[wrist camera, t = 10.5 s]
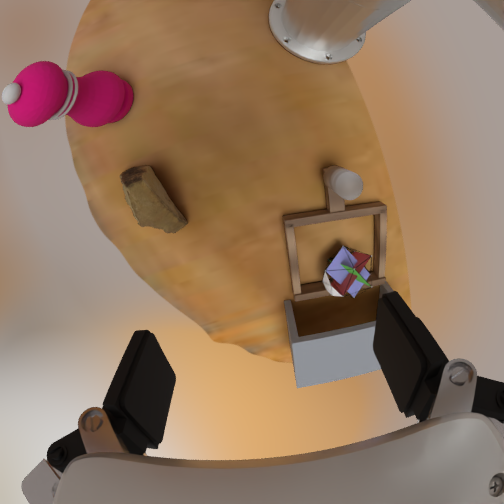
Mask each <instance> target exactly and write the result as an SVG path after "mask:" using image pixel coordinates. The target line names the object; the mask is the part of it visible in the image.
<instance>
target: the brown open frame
mask: <svg viewBox="0 0 504 504" xmlns="http://www.w3.org/2000/svg"><path fill="white" fill-rule="evenodd" d="M323 180H324V184H325V193H326V203H327V209H324V210H318V211H311V212H305V213H298V214H292V215H286V216H283V221H284V228H285V235H286V242H287V249H288V257H289V264H290V272H291V280H292V288H293V294H294V298H295V302H296V301H302V300H307V299H313V298H318V297H324V296H329V295H331V294H330V293H329V292H328V291H327V290H326V288H325V286H324V284H323V282H317V283H312V284H306V285H300V277H299V268H298V259H297V251H296V242H295V234H294V227H297V226H303V225H309V224H316V223H322V222H328V221H335V220H341V219H348V218H354V217H361V216H368V215H375V249H374V272H369V273H370V274H371V278H370V276H369V277H368V279H367V280H366V281H367V282H368V283H369V284H370V285H371V283H372V287H373V286H377V285H382V284H385V279H386V278H385V262H386V237H387V206H386V205H385V204H383V203H382V202H374V203H366V204H359V205H352V206H345V204H344V199H346V200H353V199H356V198H357V197H358V196H359V195H360V194H361V192H362V190H363V182H362V179H361V178H360V176H359V175H358V174H356V173H354V172H351V171H349V170H347V169H345V168H342V167H340V166H337V165H333V166H330V167H328V168H323ZM333 280H334V279H333ZM333 280H329V281H330V284H331V283H332V281H333ZM368 287H371V286H368V285H366V284H364V285H363V286H362V287H361V289H363V288H368ZM347 292H348V291H347Z"/></svg>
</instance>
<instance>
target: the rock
mask: <svg viewBox="0 0 504 504" xmlns="http://www.w3.org/2000/svg"><path fill="white" fill-rule="evenodd" d="M120 178H121V182H122V184H123V190H124V193H125V199H126V202H127V203H128V205H129V206H130V208H131V209H132V211H133V215H134V217H135V219H136V220H137V221H138V224H139V225H140V226H141V227H144V226H151V227H154V228H158V229H163V230H164V231H165V232H166V233H176V232H177V231H178V230H180V229H181V228H183V227H184V226H185V225H187V224H188V222H187V221H186V219H185V218H184V217H183V215H182V214H181V213H180V211H179V210H178V209H177V208H176V206H175V205H174V203H173V202H172V201H171V199H170V198H169V196H168V195H167V193H166V190H165V189H164V188H163V186H162V184H161V182H160V181H159V180H158V178H157V177H156V176H155V173H154V171H153V170H152V168H151V167H150V166H139V167H133V168H130V169H128V170H126V171H125V172H123V173H122V174H121V175H120Z"/></svg>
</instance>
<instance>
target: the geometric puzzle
mask: <svg viewBox="0 0 504 504" xmlns="http://www.w3.org/2000/svg"><path fill="white" fill-rule="evenodd" d="M346 248H348V247H346ZM346 248H345V246H343V247H341V248H340V249H341V250H340V249H339V250H340V251H339V252H338V254H337V255H336V257H334V259H333V258H331V257H332V256H331V257H330V258H331V259H333V261H330V258H329V259H328V261H329V262H331V264H330V265H329V266H328V268H327V269H326V270H325V274H324V277H323V284H324V286H325V288H326V290H327V291H328V292H329V293H330V294H331V295H332V296H340V297H344V295H346V294H345V293H346V292H347V291H348V292H349V293H350V294H351V295H352V296H353V298H355V296H356V294H357V293H358V292H359V290H360V289H361V287H362V286H363V285H364V284H366V285H368V286H371V287H372V283H371V285H370V284H369V283H368V282H367V281H366V280H367V279H368V277H369V276H370V278H371V274H370V273H369V272H368V270H367V269H365V268H366V267H365V265H366V263H367V262H368V260H369V259H370V257H371V264H372V255H368V254H365V253H364V254H363V253H362V252H361V253H359V252H355V251H353V250H354V249H353V250H352V251H353V254H351V253H352V252H349V251H348V250H347V249H346ZM348 249H349V248H348ZM350 250H351V248H350ZM356 251H357V250H356ZM364 267H365V268H364ZM370 272H371V269H370ZM326 273H328V274H329V275H330V276H331V277H333V278H334V280H333V281H332V283H331V284H330V281H329V279H328V276H329V275H328V276H327V274H326ZM330 276H329V277H330ZM330 279H331V278H330ZM331 280H332V279H331ZM364 290H365V289H364ZM367 290H368V288H367ZM361 291H362V290H361ZM362 293H363V292H362ZM350 294H349V295H350ZM349 295H348V296H349ZM346 296H347V295H346ZM352 296H351V297H352ZM357 296H358V295H357Z"/></svg>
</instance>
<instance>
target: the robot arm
mask: <svg viewBox="0 0 504 504" xmlns="http://www.w3.org/2000/svg"><path fill="white" fill-rule="evenodd" d="M410 1H411V0H274V1H273V3H272V5H271V8H270V11H269V25H270V29H271V31H272V33H273V35H274V37H275V38H276V40H277V41H278V42H279V44H281V45H282V46H283V47H284V48H285V49H286V50H287V51H289V52H290V53H292V54H293V55H295V56H297V57H299V58H301V59H303V60H307V61H310V62H313V63H319V64H334V63H340V62H343V61H346V60H348V59H349V58H351V57H353V56H354V55H355V54H356V53H358V51H359V50H360V49H361V48H362V46H363V44H364V41H365V35H366V31H367V30H369V29H370V28H371V27H373V26H374V25H376V24H377V23H378V22H380V21H381V20H383V19H384V18H386V17H387V16H389V15H390V14H392V13H393V12H395V11H396V10H398V9H399V8H401V7H402V6H404V5H405V4H406V3H408V2H410ZM474 1H475V2H476V3H477V4H478V5H479V6H480V7H481V8H482V9H483V10H484V11H485V12H486V13H487V14H488V15H489V16H490V17H491V18H492V19H493V20H494V21H495V22H496V23H497V24H498V25H499V26H500V27H501V28H502V29H503V30H504V0H474ZM276 7H278V8H276ZM285 40H286V41H288V43H285V42H284V41H285ZM326 57H328V58H329V60H328V59H326ZM373 351H374V354H375V356H376V358H377V360H378V362H379V365H380V367H381V369H382V371H383V373H384V375H385V378H386V380H387V383H388V385H389V387H390V389H391V392H392V394H393V396H394V399H395V401H396V403H397V405H398V408H399V411H400V412H401V413H402V412H404V414H405V416H406V418H407V417H410V416H412V415H415V416H416V418H417V419H418V422H417V424H414V425H411V426H408V427H406V428H403V429H400V430H397V431H394V432H391V433H388V434H385V435H381V436H378V437H375V438H371V439H368V440H365V441H361V442H357V443H353V444H349V445H345V446H341V447H336V448H332V449H327V450H322V451H317V452H311V453H305V454H299V455H291V456H285V457H274V458H265V459H250V460H186V459H170V458H161V457H151V456H147V454H146V453H145V452H146V448H152V449H158V445H159V443H161V442H162V440H163V435H164V430H165V426H166V421H167V416H168V412H169V408H170V403H171V398H172V394H173V390H174V386H175V382H176V376H175V373H174V371H173V369H172V368H171V366H170V364H169V362H168V361H167V359H166V357H165V355H164V353H163V351H162V349H161V347H160V345H159V343H158V342H157V339H156V337H155V335H154V334H153V333H150V331H148V330H139V331H135V332H134V334H133V336H132V338H131V340H130V342H129V345H128V346H127V349H126V351H125V353H124V355H123V357H122V360H121V362H120V364H119V366H118V369H117V371H116V373H115V375H114V378H113V380H112V382H111V385H110V387H109V389H108V392H107V394H106V397H105V399H104V402H103V408H102V409H101V408H99V407H91V408H89V409H87V410H85V411H84V412H83V413H82V414H81V416H80V418H79V421H78V429H77V430H75V431H73V432H72V433H70V434H68V435H66V436H65V437H63V438H61V439H59V440H58V441H56V442H54V443H53V444H51V446H50V447H49V449H48V451H47V460H45V459H43V460H42V461H41V462H40V463H39V464H38V465H37V466H36V467H35V468H34V469H33V470H32V471H31V472H30V473H29V474H28V475H27V476H26V477H25V478H24V480H23V481H22V491H23V494H24V495H25V497H26V499H27V500H28V502H29V503H30V504H504V383H503V382H499V381H495V380H491V379H487V378H484V377H479V376H477V371H476V369H475V367H474V365H473V364H472V363H471V362H469V361H467V360H465V359H453V360H451V361H449V360H448V359H447V357H446V356H445V354H444V353H443V351H442V350H441V348H440V347H439V345H438V344H437V342H436V341H435V339H434V338H433V336H432V335H431V334H430V332H429V331H428V329H427V328H426V326H425V325H424V324H423V322H422V321H421V320H420V319H419V318H418V317H415V315H414V314H413V312H412V311H411V310H410V308H409V307H408V306H407V304H406V303H405V302H404V300H403V299H402V298H401V296H400V295H399V294H398V292H396V291H393V292H389V293H385V294H383V295H382V298H379V300H378V308H377V317H376V325H375V333H374V340H373Z"/></svg>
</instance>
